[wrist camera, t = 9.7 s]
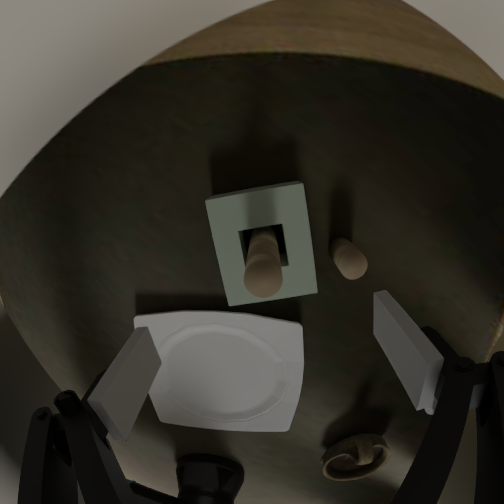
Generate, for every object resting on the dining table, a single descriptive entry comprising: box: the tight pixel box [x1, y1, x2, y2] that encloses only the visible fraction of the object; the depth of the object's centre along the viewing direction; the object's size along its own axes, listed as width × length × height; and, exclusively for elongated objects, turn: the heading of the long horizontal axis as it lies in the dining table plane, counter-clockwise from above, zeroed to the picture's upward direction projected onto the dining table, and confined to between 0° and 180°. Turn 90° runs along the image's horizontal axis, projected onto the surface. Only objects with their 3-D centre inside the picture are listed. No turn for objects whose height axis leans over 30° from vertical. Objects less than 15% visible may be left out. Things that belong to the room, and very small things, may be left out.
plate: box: [134, 310, 304, 432], centre depth 40 cm, size 24×24×3 cm
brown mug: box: [320, 433, 391, 481], centre depth 41 cm, size 14×18×10 cm
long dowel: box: [244, 226, 283, 298], centre depth 29 cm, size 3×3×13 cm
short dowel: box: [329, 237, 367, 279], centre depth 32 cm, size 3×3×6 cm
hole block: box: [205, 181, 317, 306], centre depth 33 cm, size 10×12×4 cm
